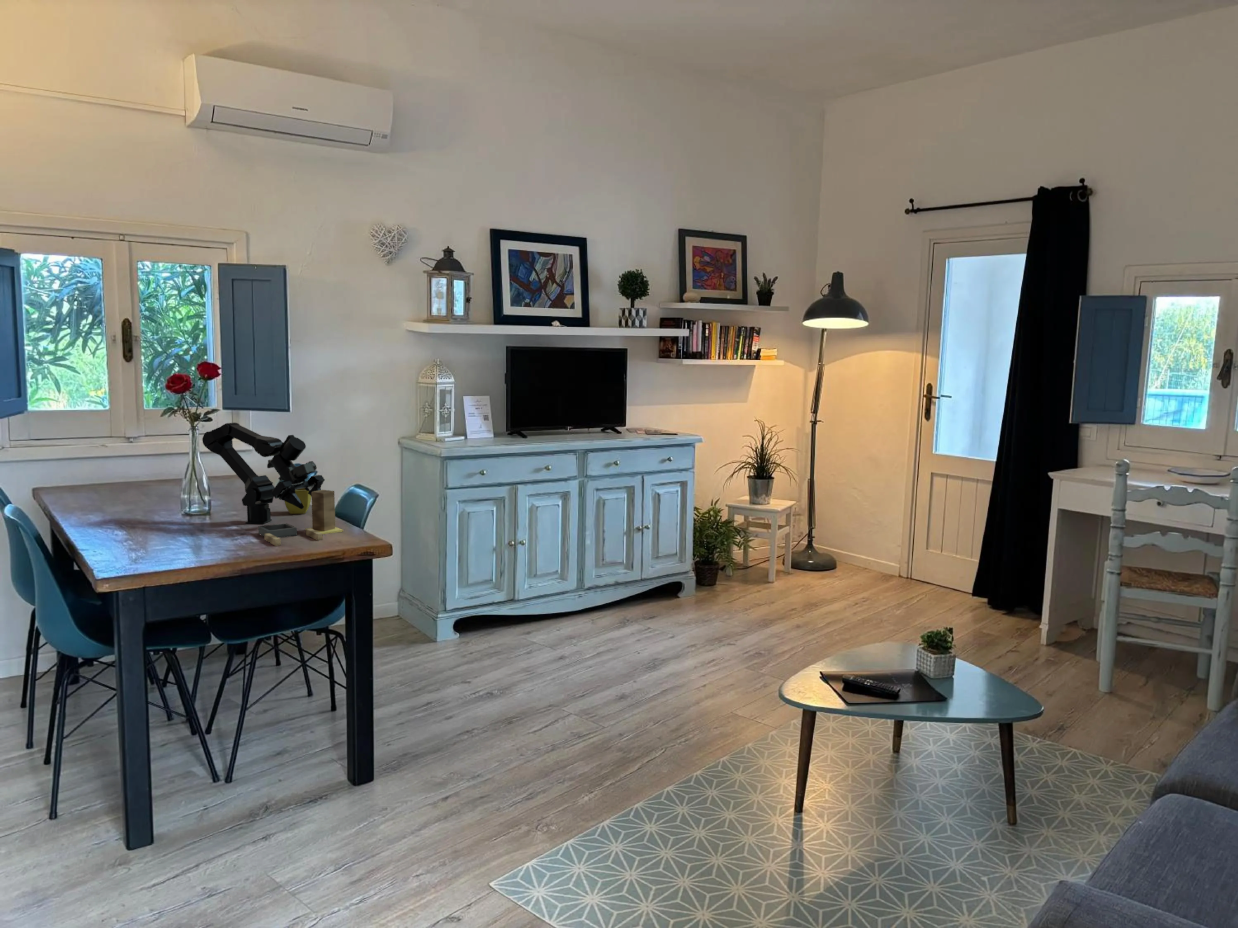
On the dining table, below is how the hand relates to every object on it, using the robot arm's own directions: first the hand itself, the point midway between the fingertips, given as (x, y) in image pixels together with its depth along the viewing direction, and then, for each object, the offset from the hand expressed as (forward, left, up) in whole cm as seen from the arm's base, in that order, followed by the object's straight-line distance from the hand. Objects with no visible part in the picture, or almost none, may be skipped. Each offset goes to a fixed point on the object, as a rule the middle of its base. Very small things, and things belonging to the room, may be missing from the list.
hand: (313, 505), depth 294 cm
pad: (+4, -2, -8) cm, 9 cm away
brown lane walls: (0, -16, -8) cm, 17 cm away
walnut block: (+4, -2, -7) cm, 9 cm away
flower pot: (-17, +26, -8) cm, 33 cm away
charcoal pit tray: (-8, -9, -8) cm, 14 cm away
